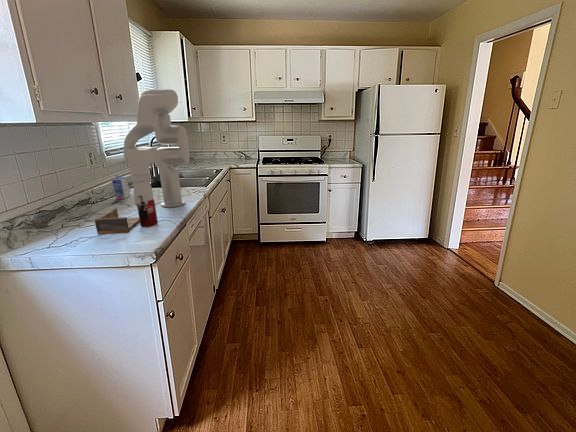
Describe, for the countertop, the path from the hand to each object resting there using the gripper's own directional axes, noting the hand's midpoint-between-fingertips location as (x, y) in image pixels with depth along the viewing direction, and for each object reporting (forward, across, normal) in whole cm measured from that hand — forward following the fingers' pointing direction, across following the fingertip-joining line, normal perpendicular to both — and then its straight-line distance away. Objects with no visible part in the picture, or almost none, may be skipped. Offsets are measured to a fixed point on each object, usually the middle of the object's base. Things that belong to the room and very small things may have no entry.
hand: (147, 216), depth 137 cm
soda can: (+4, 0, 0) cm, 4 cm away
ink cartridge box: (+4, -62, -35) cm, 71 cm away
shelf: (+4, 0, -12) cm, 13 cm away
